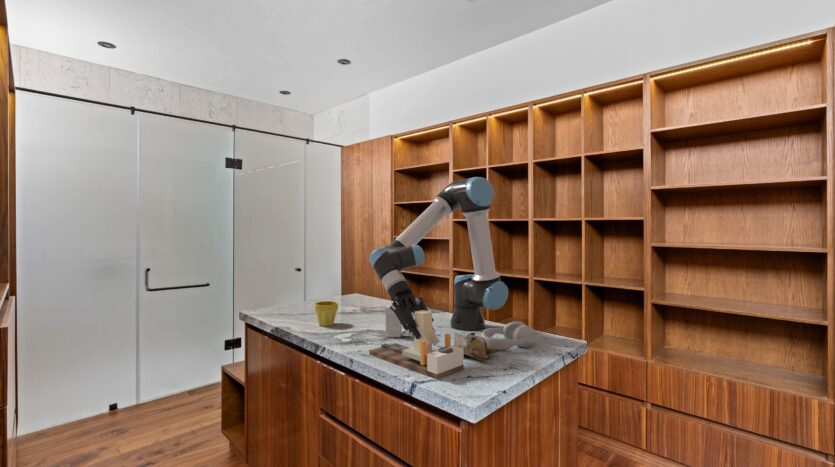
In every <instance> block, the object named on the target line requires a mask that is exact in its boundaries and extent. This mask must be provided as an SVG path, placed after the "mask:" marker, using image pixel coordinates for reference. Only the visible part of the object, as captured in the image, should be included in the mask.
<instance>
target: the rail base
mask: <svg viewBox="0 0 835 467" xmlns="http://www.w3.org/2000/svg"><path fill="white" fill-rule="evenodd" d="M408 348H410V347H409V346H406V345H403V344H400V343H396V342H395V343H391V344H388V343H383V344H381V346H379V347H376V348H372V349H369V350H368V355H369V354H370V356H372V355H373V357H376V358H378V359H380V360H383V361H386V362H388V363H391V364H395V365H398V366H400V367H403V368H405V369H408V370H411V371H413V372H416V373H419V374H422V375H424V376H427V377H430V378H432V379H435V380H439V379H442V378H444V377H448V376H449V375H452V374H456V373H457V372H460V371H463V370H464V364H463V365H461V366H458V367H455V368H453V369H450V370H447V371H444V372H442V373H439V374H435V373H432V372H429V371H427V364H426V365H421V364H420V361H418V360H415V359H412V358H409V357H406V356H403V355H402V350H405V349H408Z"/></svg>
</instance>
